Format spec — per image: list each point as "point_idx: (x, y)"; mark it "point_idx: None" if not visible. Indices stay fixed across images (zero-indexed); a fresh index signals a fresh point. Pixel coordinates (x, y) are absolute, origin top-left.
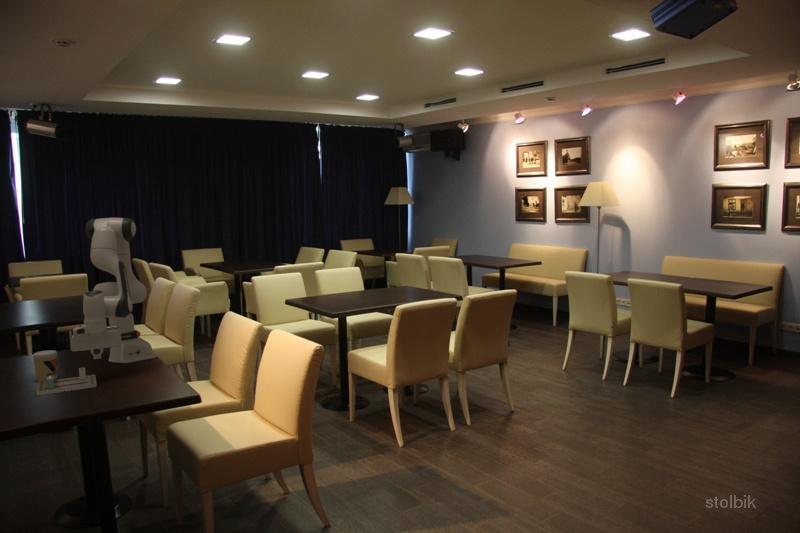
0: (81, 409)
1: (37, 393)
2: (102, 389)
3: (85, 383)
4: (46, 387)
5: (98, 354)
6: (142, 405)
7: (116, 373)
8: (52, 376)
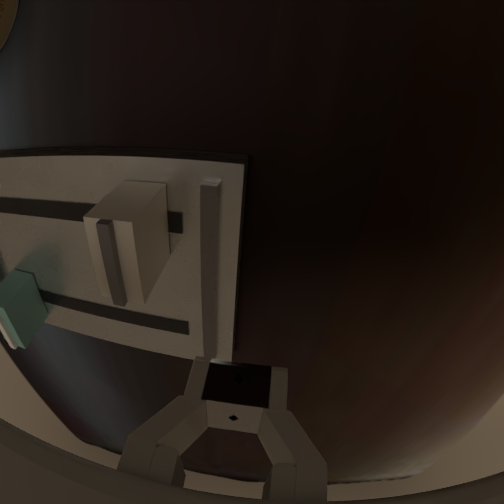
0: (186, 455)
1: None
2: None
3: (174, 338)
4: None
5: (253, 412)
6: None
7: (426, 124)
8: (2, 309)
